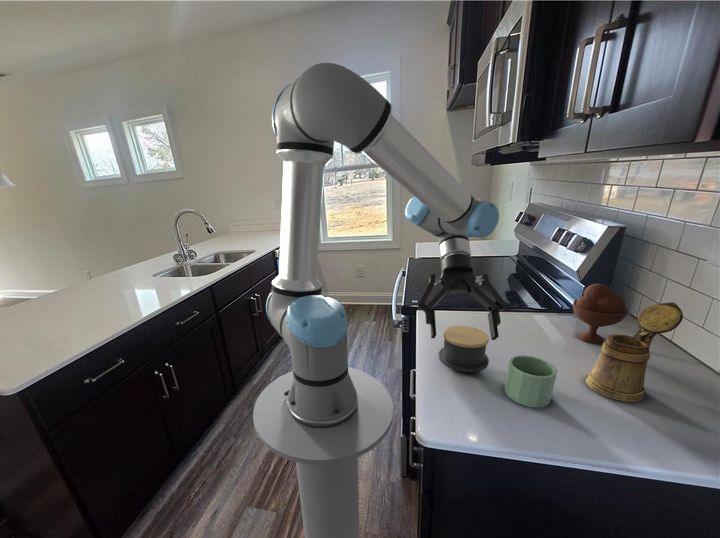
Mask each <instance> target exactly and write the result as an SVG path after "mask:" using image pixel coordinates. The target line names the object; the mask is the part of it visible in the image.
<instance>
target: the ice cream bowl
mask: <svg viewBox="0 0 720 538" xmlns="http://www.w3.org/2000/svg"><path fill="white" fill-rule="evenodd" d="M582 295H583V296H580V297H579V298H578V299H574V300H573V303H572V310H573V314H574V315H575V316H576V317H577V318H578V319H579V320H580V321H581V322H583V323H584V324H586V325H588V330H587V331H584V332H579V333H578V334H577V338H578V339H579V340H581V341H583V342H586V343H589V344H597V345H598V344H604V337H603V336H601V335H599V334H598V333H597V332H598V329H599V328H602V327H603V328H604V327H609V326H613V325H616V324H618V323H620V322H622V321H623V320H624V319H625V318H626V316H627V315H628V313H629V311H628V307H626V301H625V298H624V297H623V296H622V295H621V294H619V293H617V292H615V291H612V290H611V288H610V287H609V286H608V285H606V284H602V283H593V284H590V285H587V286H586V288H585V289H584V291H583V294H582Z"/></svg>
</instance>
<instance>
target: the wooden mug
mask: <svg viewBox="0 0 720 538" xmlns="http://www.w3.org/2000/svg"><path fill="white" fill-rule="evenodd" d="M683 319H684V313H683V310H682V309H681V307H679V305H678V304H676V303H675V301H674V302H673V301H672V302H661V303H656V304H652V305H650V306H647V307H646V308H644V309H643V310H642V311H641V313H640V314H639V316H638V317H637V321H636V322H637V325H638V328H639V329H638V331H637V332H636V333H634V335H632V336H631V335H626V334H621V333H613V334H610V335H608V337H607V339H605V340H604V341H603V343H602V346H601V351H600V354H599V355H598V358H597V359H596V362H595V364H594V366H593V368H592V370H590V371H589V373H588V376H587V378H586V379H585V383H586V385H587V386H589V387H588V388H590V389H592V390H593V391H595V392H596V393H598V394H600V395H602V396H604V397H606V398H610V399H613V400H615V401H621V402H626V403H636V402H639V401H641V400H643V399H644V396H645V391H646V388H645V379H646V371H647V365H648V361H649V360H650V358H651V351H650V347H651V344H652V342H653V339H654V338H655V337H656V335H659V334H660V335H661V334H665V333H669V332H672V331H673V330H675V329H676V328H677V327H679V325H680V324H681V323H682V321H683Z"/></svg>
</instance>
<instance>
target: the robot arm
mask: <svg viewBox="0 0 720 538" xmlns="http://www.w3.org/2000/svg"><path fill="white" fill-rule="evenodd" d="M271 124H272V129H273V132H274V134H275V136H276V154H277V156H278V157H279V159H280V160H281V161H282V162H283V169H282V191H281V192H282V193H281V213H280V214H281V217H280V218H281V219H280V237H279V238H280V240H279V241H280V242H279V265H278V275H277V276H276V277H275V278H273V280H272V281H271V291H270V293H269V295H268V296H267V299H266V303H265V312H266V317H267V318H268V321H269V323H270V324H271V326H272V327H273V328H274V329H275V331H276V332H277V333H278V334H279V335H280V337H281V338H282V340H283V341H284V342H285V343H286V345H287V346H288V347H289V352H290V357H291V358H290V359H291V366H292V371H293V379H292V383H291V387H290V390H288V391H286V392H284V395H285V396H287V395H288V409H289V412H290V415H291V416H292V417H293V418H294V419H295V420H296V421H297V422H299V423H300V424H303V425H305V426H308V427H313V428H329V427H333V426H337V425H340V424H342V423H344V422H346V421H347V420H348V419H350V418H351V417H352V416H353V414H354V413H355V411H356V409H357V405H358V399H357V392H356V389H355V387H354V384H353V382H352V380H351V377H350V375H349V373H348V367H349V356H348V355H349V353H348V350H349V349H348V328H349V327H348V320H347V314H346V310H345V308H344V306H343V305H342V304H341V303H340V301H338V300H336V299H335V298H333V297H329V296H326V297H325V296H324V295H322V290H323V289H322V287H323V284H322V282H320V280H319V279H318V278H317V269H318V256H319V245H320V244H319V243H320V231H321V217H322V205H323V193H324V180H325V168H326V166H327V165H328V164H329V162H331V161H333V158H334V148H335V143H338V144H340V145H342V146H344V147H346V148H347V149H348V150H349V151H351V152H352V153H353V154H354V155H359V154H364V155H365V156H366V157H367V158H368V159H370V160H371V161H372V162H373V163H374V164H375V165H377V167H379V168H380V169H381V170H382V171H384V172H385V173H386V174H387V175H388V176H389V177H390V178H392V179H393V180H394V181H395V182H397V183H398V184H399V185H400V186H401V187H402V188H404V189H405V190H406V191H407V192H409V193H410V194H411V195H412V196H413V197H411V198H410V199H409V201H408V202H407V205H406V207H405V210H404V211H405V212H404V215H405V218H406V219H407V220H408V221H409V222H410V223H412V224H413V225H414V226H416V227H418V228H420V229H422V230H423V231H426V232H427V233H429V234H431V235H432V236H434V237H436V238H437V239H438V247H439V259H440V273H441V276H437V275H435V274H434V273H431V274H430V276H429V279H428V285H427V287H426V289H425V291H424V292H423V294H422V296H421V298H420V300H419V302H418V304H417V310H418V311H422V312H424V314H425V323H426V325H429V326H430V338H431V339H435V338H436V336H437V325H436V323H437V322H436V310H435V309H434V308H435V307H436V305H437V304H438V303H439V302H440V301H441V300H442V299H443V298H444V296H446V295H447V294H448V293H451V294H461V295H463V294H464V295H465V293H467V295H469V296H472V297H473V298H474V299H475V300H476V301H477V302H479V303H480V304H481V305H482V306H483V308H485V309H486V310H488V314H487V319H488V325H489V334H490V340H491V341H496V340H497V339H498V338H499V337H500V335H499V329H498V326H500V325H501V314H500V313H501V312H503V311H504V310H505V309H506V308H507V307H508V304H507V303H506V301H505V300H504V299H503V298H502V296H501V295H500V293H499V292H498V291H497V289H496V288H495V287H494V285H493V284H492V283H491V282H490V278H489V275H488V274H487V273H483V274H482V275H477V276H476V275H475V274H474V267H473V260H472V251H471V245H470V238H481V239H482V238H486V237H488V236H490V235H491V234H493V232H494V231H495V229H496V227H497V226H498V224H499V221H500V220H499V219H500V211H499V209H498V206H497V205H496V204H495V203H493V202H490V201H486V200H480V201H479V200H477V199H476V198H475V197H474V196H473V195H472V194H471V193H469V191H468V190H467V189H466V188H465V187H464V186H463V185H462V184H461V183H460V182H459V181H458V180H457V179H456V178H455V176H453V175H452V174H451V173H450V172H449V171H448V170H447V169H446V168H445V167H444V166H443V165H442V164H441V163H440V162H439V161H438V160H437V159H436V158H435V157H434V156H433V155H432V154H431V153H430V152H429V151H428V150H427V148H425V147H424V146H423V145H422V144H421V142H419V140H417V138H415V137H414V136H413V135H412V134H411V133H410V131H408V130H407V128H406V127H404V126H403V125H402V123H400V122H399V120H397V118H395V116H394V115H393V106H392V104H391V102H389V100H388V99H387V98H386V97H385V96H384V95H383V94H382V93H381V92H379V90H378V89H377V88H375V86H373V85H372V84H371V83H370V82H368V81H367V80H366V79H364V78H363V77H362V76H361V75H359V74H358V73H356V72H354V71H353V70H351V69H349V68H347V67H346V66H343V65H340V64H337V63H334V62H319V63H315V64H313V65H312V66H309V67H308V68H307V69H306V70H304V71H303V72H302V73H301V74H300V75H298V77H297V78H296V79H294V81H292V82H290V83H289V84H287V85H286V86H285V87H284V88H283V89H282V90H281V91H280V93H279V94H278V95H277V97H276V100H275V101H274V104H273V106H272V111H271ZM475 282H476V283H478V285H479V286H481V289H482V290H483V291H482V290H480V289H479V287H478V285H476V284H475ZM438 283H440V284H441V285H442V288H441V289H440V290H439V292H438V293H437V294H436V295H435V296H434V297H433V298H432V299H431V300H430V301H429V303H427V301H428V299H429V297H430V295H431V293H432V291H433V289H434V287H435V286H436V285H438ZM426 303H427V304H426Z"/></svg>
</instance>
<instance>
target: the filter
mask: <svg viewBox="0 0 720 538" xmlns="http://www.w3.org/2000/svg"><path fill="white" fill-rule="evenodd" d="M489 340H490V338H489V335H488V334H487V333H486V332H484V331H483V330H481V329H479V328H476V327H473V326H467V325H453V326H452V325H451V326H448V327H447V328H445V329H444V330H443V347H441V348H440V349H439V351H438V359H439V361H440V362H441V363H442V364H443V365H444V366H446V367H448V368H450V369H452V370H453V371H455V372H458V373H461V374H470V373H477V372H482V371H484V370H485V369H488V367H489V362H490V359H489V357H488V354H486V350H487V345H488V343H489Z"/></svg>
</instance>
